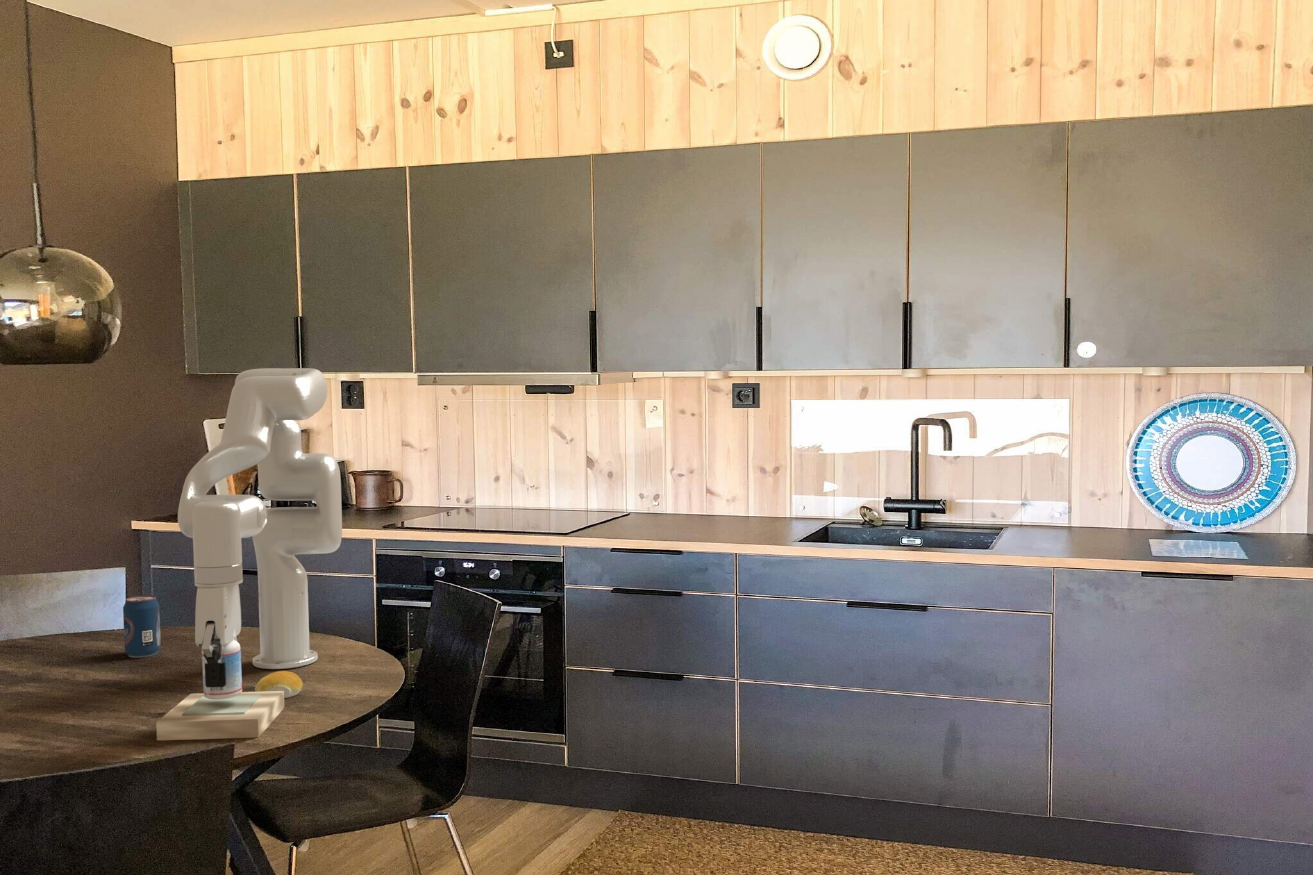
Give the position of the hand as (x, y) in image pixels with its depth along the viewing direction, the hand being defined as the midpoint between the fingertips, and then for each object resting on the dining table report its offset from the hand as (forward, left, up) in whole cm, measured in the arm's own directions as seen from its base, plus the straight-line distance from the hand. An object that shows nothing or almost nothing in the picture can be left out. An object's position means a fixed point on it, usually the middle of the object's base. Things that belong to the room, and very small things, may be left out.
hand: (222, 679), depth 188 cm
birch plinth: (0, 0, -7) cm, 7 cm away
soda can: (-50, -32, -8) cm, 60 cm away
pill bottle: (0, 0, -3) cm, 3 cm away
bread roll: (-17, +5, -8) cm, 20 cm away
